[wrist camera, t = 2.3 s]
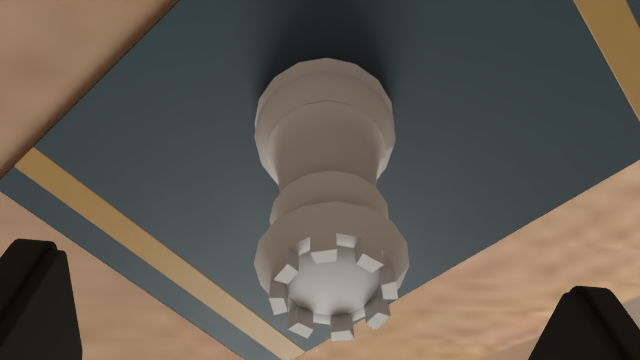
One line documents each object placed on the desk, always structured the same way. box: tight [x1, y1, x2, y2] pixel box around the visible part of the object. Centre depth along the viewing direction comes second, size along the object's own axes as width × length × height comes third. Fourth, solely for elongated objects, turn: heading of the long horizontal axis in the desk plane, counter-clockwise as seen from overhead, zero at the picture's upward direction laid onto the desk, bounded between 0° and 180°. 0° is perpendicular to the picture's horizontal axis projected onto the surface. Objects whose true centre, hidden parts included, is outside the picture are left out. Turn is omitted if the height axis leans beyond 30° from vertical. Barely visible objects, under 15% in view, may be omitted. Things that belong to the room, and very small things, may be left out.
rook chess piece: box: [254, 58, 409, 342], centre depth 13 cm, size 4×4×8 cm
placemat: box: [0, 0, 640, 360], centre depth 17 cm, size 21×14×1 cm, turn 130°
